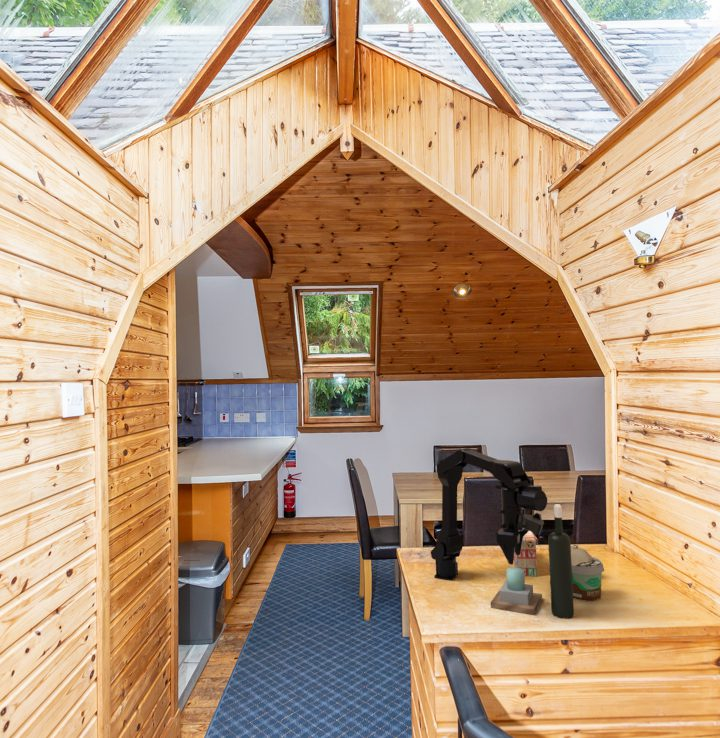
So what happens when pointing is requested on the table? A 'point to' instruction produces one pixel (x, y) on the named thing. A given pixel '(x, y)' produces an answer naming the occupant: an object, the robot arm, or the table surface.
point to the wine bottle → (560, 569)
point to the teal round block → (515, 579)
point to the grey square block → (516, 595)
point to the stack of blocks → (527, 556)
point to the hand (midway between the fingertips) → (514, 559)
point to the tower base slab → (518, 605)
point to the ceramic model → (579, 555)
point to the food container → (587, 580)
